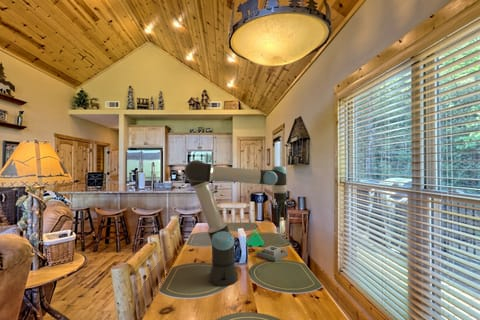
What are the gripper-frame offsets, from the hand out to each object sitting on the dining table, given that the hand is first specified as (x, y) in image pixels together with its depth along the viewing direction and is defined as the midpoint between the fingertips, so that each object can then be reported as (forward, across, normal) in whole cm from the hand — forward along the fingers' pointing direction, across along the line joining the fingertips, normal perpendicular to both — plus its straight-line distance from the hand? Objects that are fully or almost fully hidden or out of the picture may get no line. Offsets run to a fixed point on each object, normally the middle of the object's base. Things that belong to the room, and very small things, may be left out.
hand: (280, 231), depth 152 cm
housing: (+20, +8, +12) cm, 24 cm away
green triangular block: (+20, +17, +34) cm, 43 cm away
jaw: (+2, 0, 0) cm, 2 cm away
